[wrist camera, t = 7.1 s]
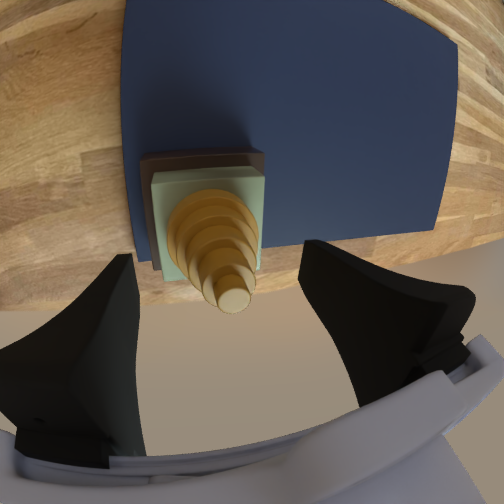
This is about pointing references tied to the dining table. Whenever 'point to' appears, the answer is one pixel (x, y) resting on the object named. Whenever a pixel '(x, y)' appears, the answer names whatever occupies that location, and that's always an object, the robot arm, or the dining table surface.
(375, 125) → the board
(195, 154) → the block stack
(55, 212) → the dining table surface
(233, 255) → the cone
